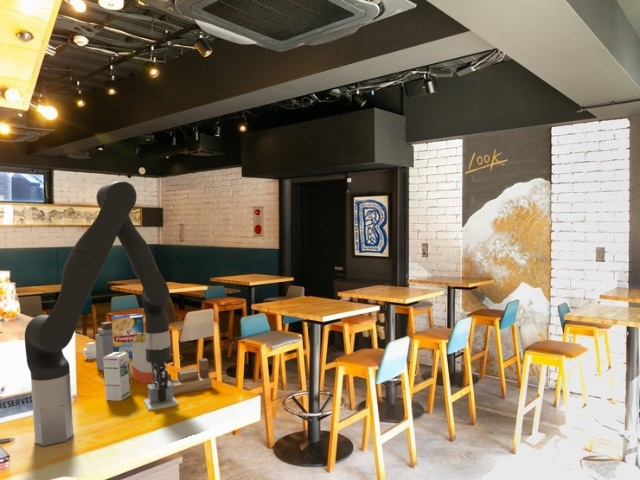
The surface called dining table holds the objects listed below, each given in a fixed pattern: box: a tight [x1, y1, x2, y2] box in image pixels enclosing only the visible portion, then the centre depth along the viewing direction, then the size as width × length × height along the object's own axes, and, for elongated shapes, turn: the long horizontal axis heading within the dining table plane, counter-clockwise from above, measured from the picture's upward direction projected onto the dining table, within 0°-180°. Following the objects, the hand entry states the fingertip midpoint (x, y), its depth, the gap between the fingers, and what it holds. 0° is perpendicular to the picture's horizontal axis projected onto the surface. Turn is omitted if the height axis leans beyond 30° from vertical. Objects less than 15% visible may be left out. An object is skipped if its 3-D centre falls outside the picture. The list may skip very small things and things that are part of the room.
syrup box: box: [103, 352, 132, 402], centre depth 166 cm, size 6×6×14 cm
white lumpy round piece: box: [82, 341, 96, 360], centre depth 214 cm, size 6×6×7 cm
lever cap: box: [146, 381, 175, 402], centre depth 160 cm, size 5×7×4 cm
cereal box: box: [110, 312, 145, 378], centre depth 191 cm, size 7×11×22 cm, turn 112°
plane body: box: [168, 357, 213, 395], centre depth 173 cm, size 7×16×9 cm, turn 118°
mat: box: [143, 397, 180, 412], centre depth 161 cm, size 9×9×1 cm
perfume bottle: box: [94, 321, 113, 372], centre depth 199 cm, size 7×7×18 cm
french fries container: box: [132, 332, 166, 384], centre depth 183 cm, size 5×11×18 cm, turn 113°
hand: (160, 398), depth 160 cm, fingers open, 5 cm apart
